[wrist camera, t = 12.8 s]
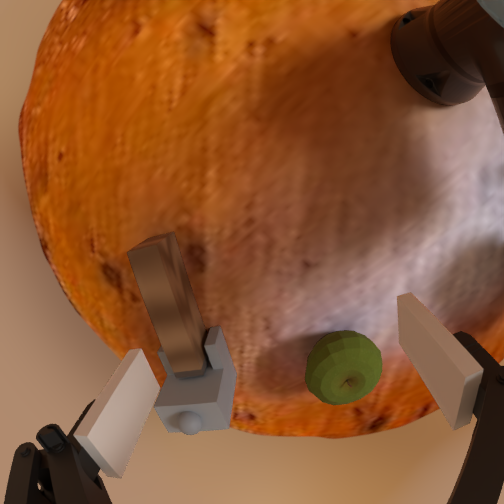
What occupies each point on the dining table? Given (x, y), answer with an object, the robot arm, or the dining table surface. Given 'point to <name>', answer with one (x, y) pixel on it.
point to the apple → (343, 367)
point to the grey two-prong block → (199, 391)
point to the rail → (171, 303)
